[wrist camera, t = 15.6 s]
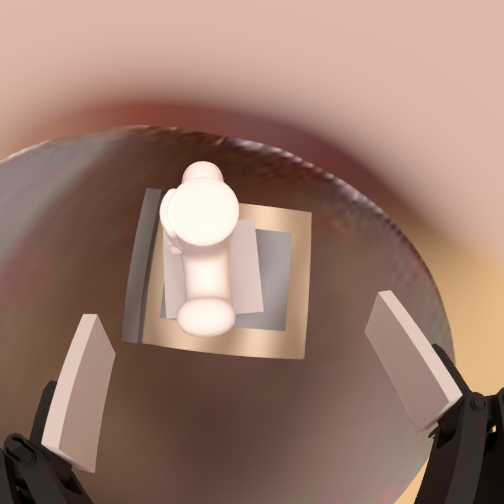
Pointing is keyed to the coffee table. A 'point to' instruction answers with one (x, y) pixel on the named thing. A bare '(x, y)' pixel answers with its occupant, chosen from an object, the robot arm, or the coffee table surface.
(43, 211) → the coffee table surface
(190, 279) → the figurine
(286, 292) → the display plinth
